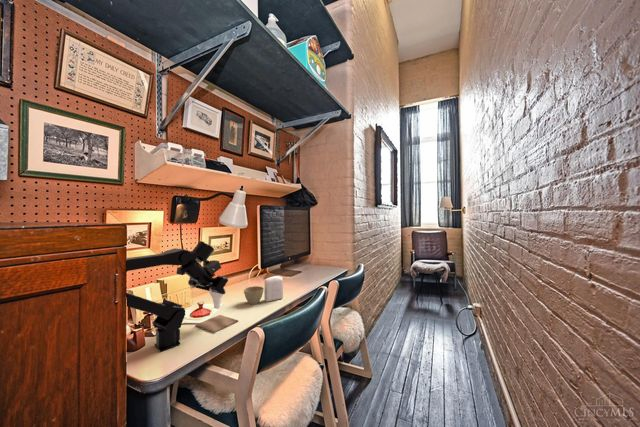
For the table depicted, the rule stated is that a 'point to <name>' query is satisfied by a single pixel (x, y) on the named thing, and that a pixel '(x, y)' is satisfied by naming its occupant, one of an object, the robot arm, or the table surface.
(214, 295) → the lightbulb
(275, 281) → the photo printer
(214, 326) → the coaster
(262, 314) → the table surface
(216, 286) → the robot arm
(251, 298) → the flower pot
